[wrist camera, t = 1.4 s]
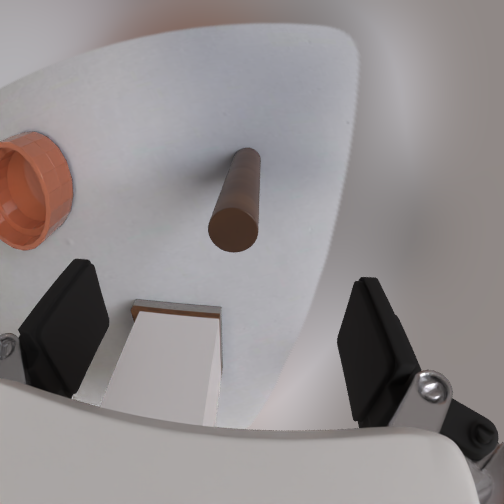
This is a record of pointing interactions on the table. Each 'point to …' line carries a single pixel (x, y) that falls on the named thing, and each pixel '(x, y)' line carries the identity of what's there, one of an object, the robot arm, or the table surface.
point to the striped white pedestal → (170, 364)
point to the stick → (238, 204)
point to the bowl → (32, 189)
